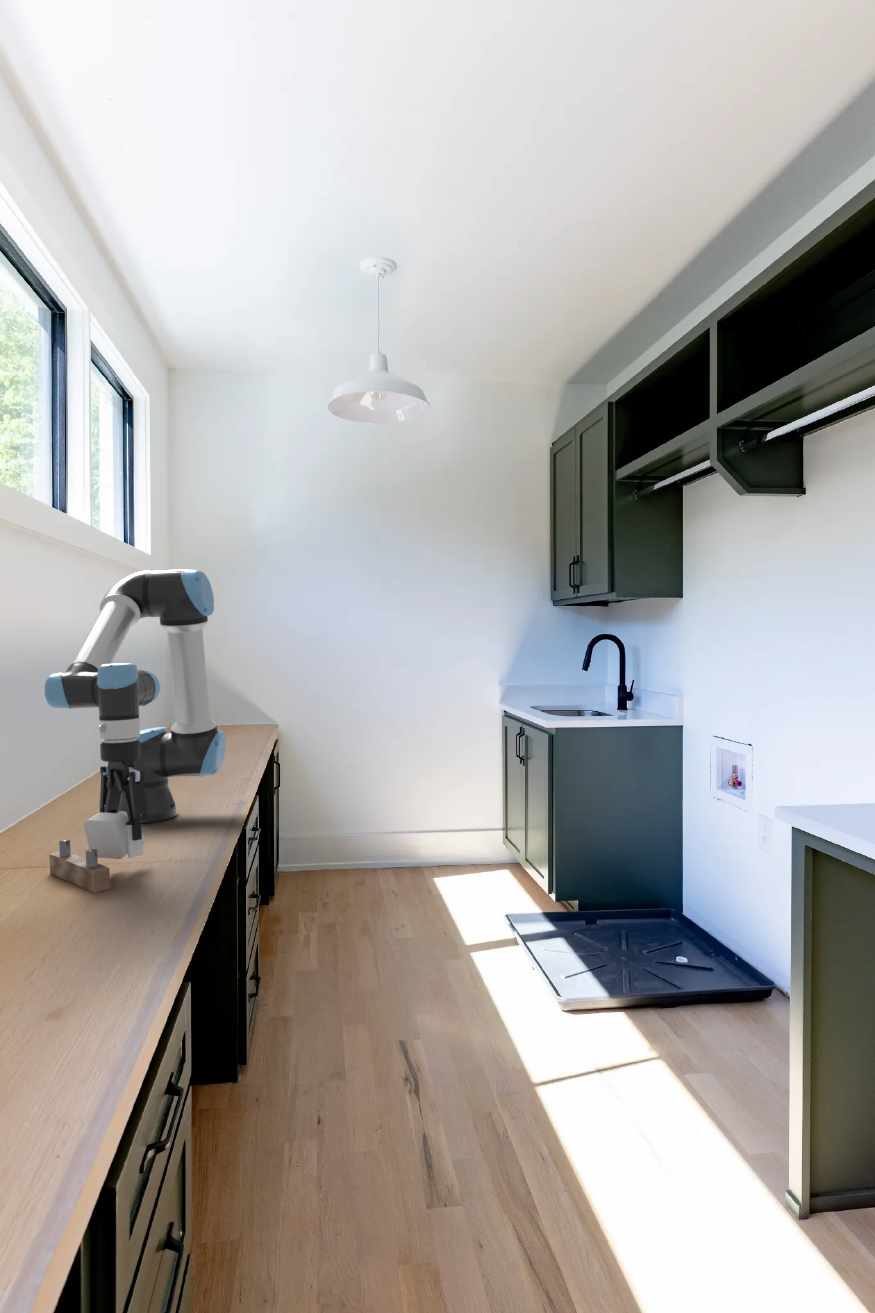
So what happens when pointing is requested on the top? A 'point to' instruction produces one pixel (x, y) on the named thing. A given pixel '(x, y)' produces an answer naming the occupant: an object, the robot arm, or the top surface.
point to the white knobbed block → (108, 834)
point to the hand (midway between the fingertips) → (124, 852)
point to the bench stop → (79, 868)
